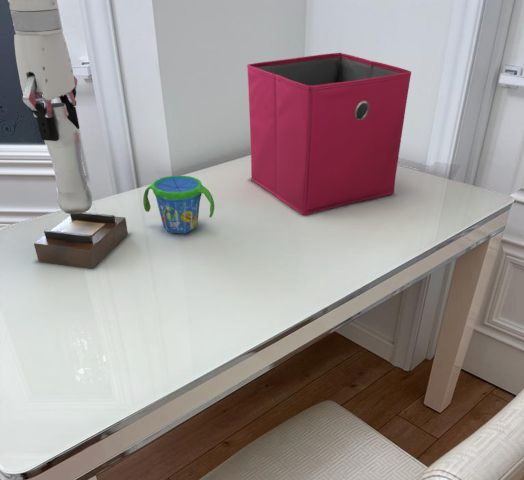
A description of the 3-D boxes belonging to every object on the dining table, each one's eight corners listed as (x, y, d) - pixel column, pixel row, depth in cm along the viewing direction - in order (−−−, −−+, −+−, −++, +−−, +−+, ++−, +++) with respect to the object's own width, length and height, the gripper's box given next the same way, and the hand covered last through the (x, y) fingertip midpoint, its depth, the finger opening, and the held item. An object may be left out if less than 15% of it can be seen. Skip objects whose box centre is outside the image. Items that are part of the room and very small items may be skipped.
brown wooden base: (38, 261, 110) (31, 236, 107) (78, 228, 123) (73, 205, 119) (92, 268, 108) (87, 243, 105) (128, 234, 120) (124, 210, 117)
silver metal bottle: (53, 213, 110) (27, 106, 98) (80, 202, 114) (58, 99, 102) (74, 220, 107) (50, 112, 95) (101, 209, 111) (81, 103, 99)
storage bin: (304, 218, 127) (310, 84, 110) (246, 180, 147) (244, 61, 130) (398, 196, 138) (417, 71, 121) (332, 163, 158) (340, 51, 141)
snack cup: (222, 223, 125) (220, 179, 119) (204, 242, 117) (201, 196, 111) (159, 214, 129) (154, 171, 123) (138, 233, 121) (132, 188, 115)
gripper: (46, 15, 98) (67, 120, 109) (-16, 28, 85) (15, 146, 96) (84, 17, 97) (102, 123, 107) (27, 30, 83) (54, 150, 94)
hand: (61, 133), depth 101 cm, fingers closed on silver metal bottle, 6 cm apart
